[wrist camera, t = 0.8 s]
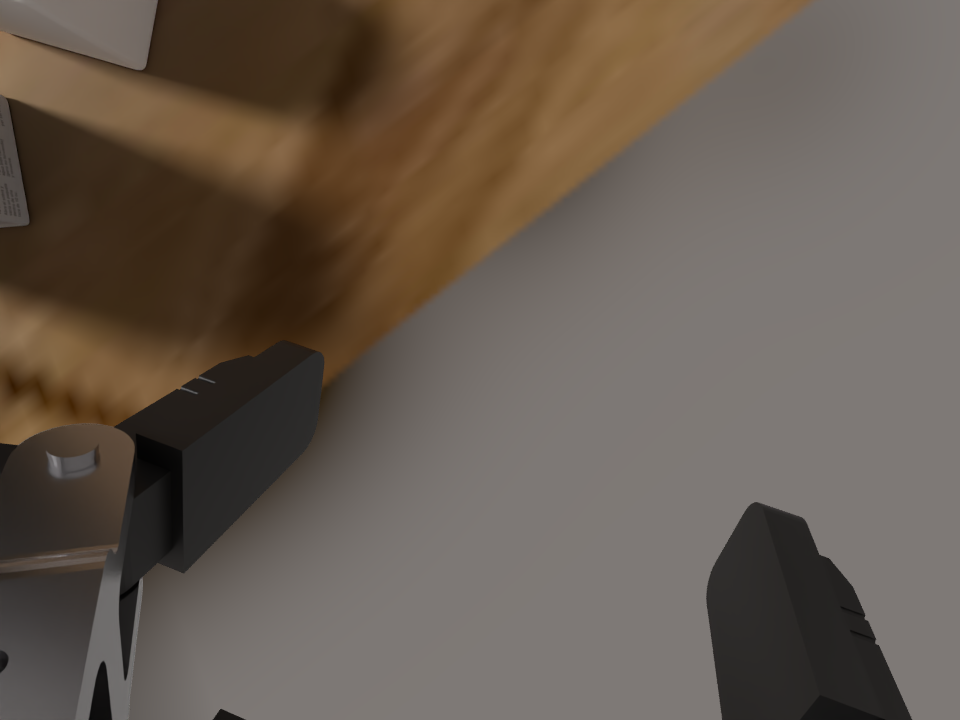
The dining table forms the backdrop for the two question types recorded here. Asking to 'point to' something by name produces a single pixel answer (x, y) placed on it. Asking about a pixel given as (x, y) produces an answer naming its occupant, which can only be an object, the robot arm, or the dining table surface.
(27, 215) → the coffee box
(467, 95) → the dining table surface
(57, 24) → the medicine bottle
